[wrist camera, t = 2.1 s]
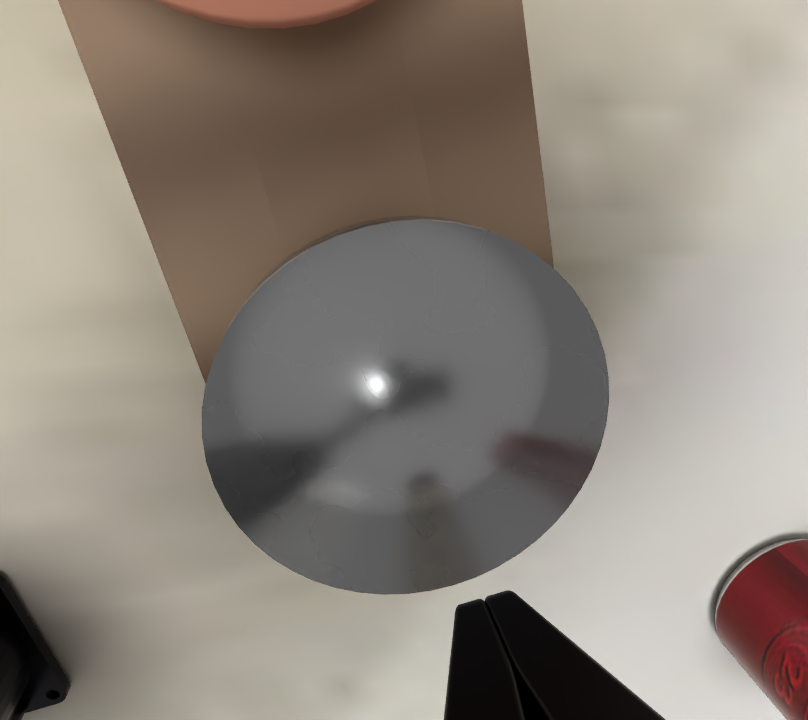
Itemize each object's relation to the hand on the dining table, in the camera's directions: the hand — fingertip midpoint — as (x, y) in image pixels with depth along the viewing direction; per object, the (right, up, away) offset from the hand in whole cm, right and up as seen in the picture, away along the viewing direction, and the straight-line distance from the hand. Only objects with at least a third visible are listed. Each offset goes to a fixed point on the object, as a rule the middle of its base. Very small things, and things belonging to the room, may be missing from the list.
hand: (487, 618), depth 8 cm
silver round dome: (-2, +4, +10) cm, 10 cm away
